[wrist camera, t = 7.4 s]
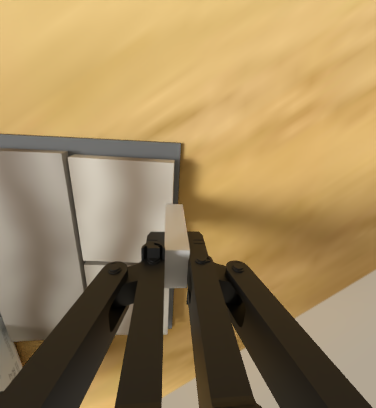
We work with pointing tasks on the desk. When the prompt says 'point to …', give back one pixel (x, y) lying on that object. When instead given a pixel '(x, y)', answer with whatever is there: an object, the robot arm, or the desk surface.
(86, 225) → the plank
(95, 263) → the plank
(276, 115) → the desk surface
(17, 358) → the tea box
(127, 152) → the grey framed panel
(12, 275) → the laid board
